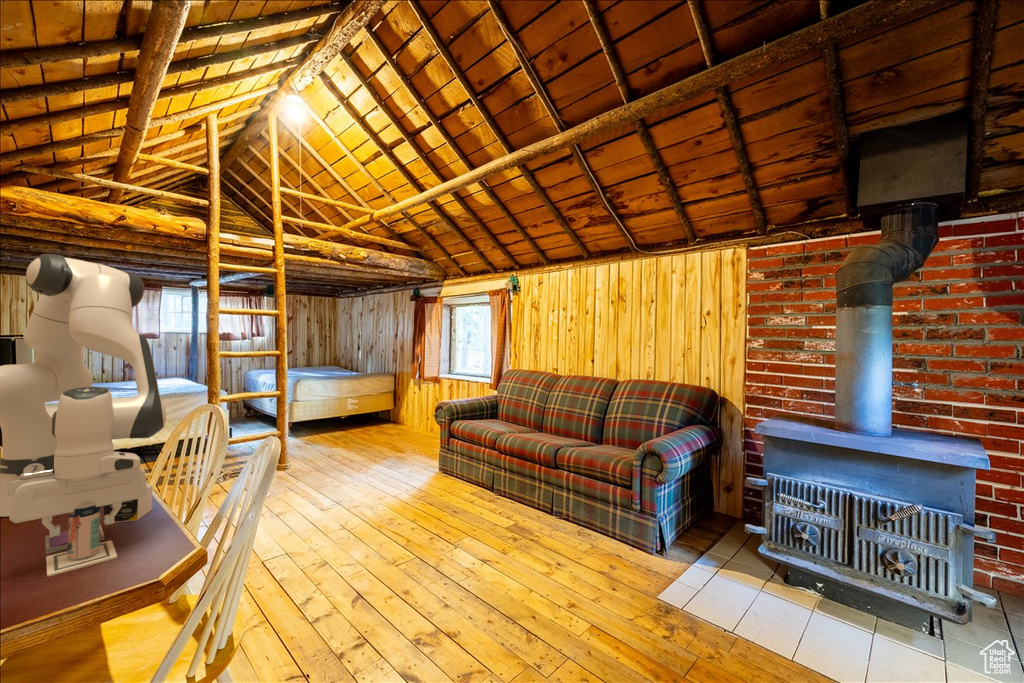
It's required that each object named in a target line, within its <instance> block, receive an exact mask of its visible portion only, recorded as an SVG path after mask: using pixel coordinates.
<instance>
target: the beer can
mask: <svg viewBox="0 0 1024 683" xmlns="http://www.w3.org/2000/svg"><path fill="white" fill-rule="evenodd" d="M100 524H101V506H100V507H96V504H94V503H93V502H92V501H88V502H82V503H81V504H80V505H79V506H77V507H76V508H75V509H74V512H70V513H68V523H67V526H68V527H67V528H68V529H67V530H68V549H67V551H68V557H67V558H68V559H71V560H82V559H86V558H89V557H91V556H93V555H94V554H96V553H97V552H98V551H99V543H100V541H99V533H100Z"/></svg>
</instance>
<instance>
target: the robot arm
mask: <svg viewBox="0 0 1024 683" xmlns="http://www.w3.org/2000/svg"><path fill="white" fill-rule="evenodd" d="M26 268H27V269H26V274H25V276H26V284H27V285H28V286H29V288H30V289H31V290H32V291H34V292H36V293H39V294H40V296H39V298H38V300H37V302H36V303H35V305H34V309H33V311H32V313H31V315H30V318H29V319H28V323H27V326H26V328H25V331H24V333H23V335H22V336H23V342H24V343H25V344H26V346H28V347H29V348H31V349H32V350H34V351H35V360H34V362H32V363H25V364H24V363H19V364H3V365H0V429H1V436H2V437H1V438H2V440H1V441H2V457H0V517H3V518H4V517H9V519H8V520H9V521H10V522H12V523H14V524H19V523H23V522H29V521H35V520H39V519H41V524H42V525H43V526H44V527H45V528H46V529H47V530H49V534H50V538H52V537H56V536H60V532H61V525H60V524H59V525H54V524H53V523H52V521H53V517H54V516H59V515H65V514H69V513H70V512H74V509H75V508H76V507H77V506H79V505H80V504H81V503H82V502H88V501H92V502H93V503H94V504H96V507H100V508H101V507H104V506H105V505H110V504H112V507H113V510H112V511H111V513H110V514H109V515H105V516H104V515H103V524H104V526H107V525H108V526H109V525H113V524H115V523H114V516H115V515H116V514H117V512H118V511H119V510H120V508H121V505H122V502H125V501H130V500H135V499H140V498H143V497H144V496H145V495H146V493H147V485H148V483H147V477H146V472H145V473H144V471H145V470H144V469H143V468H142V467H141V466H140V465H141V458H140V456H138V454H136V453H133V452H126V451H125V452H122V451H114V447H115V446H114V443H113V440H123V439H150V438H151V437H153V436H155V435H156V434H157V433H159V432H160V431H161V430H163V428H164V427H165V425H166V420H167V412H166V408H165V405H164V402H163V400H162V398H161V396H160V391H159V384H158V379H157V374H156V368H155V363H154V358H153V355H152V352H151V347H150V344H149V341H148V340H147V338H146V337H145V335H142V334H139V333H138V331H136V329H135V328H134V326H133V322H132V317H133V308H135V307H136V306H138V305H139V303H140V302H141V300H142V298H143V296H144V293H145V283H144V281H143V280H142V278H141V277H139V276H138V275H136V274H134V273H131V272H129V271H122V270H121V269H117V268H115V267H111V266H108V265H105V264H101V263H97V262H90V261H85V260H82V259H76V258H71V257H65V256H63V255H60V254H54V253H51V254H50V253H43V254H41V255H38V256H36V257H35V258H34V259H33V261H31V262H30V263H29V265H28V267H26ZM83 347H84V348H85V349H87V350H90V351H92V352H96V353H98V354H102V355H107V356H110V357H114V358H116V359H120V360H123V361H125V362H127V363H128V364H129V365H131V367H132V368H133V373H134V374H133V375H134V379H135V384H136V389H137V395H135V396H134V395H133V396H130V397H129V396H128V397H113V396H112V393H111V391H110V390H109V388H105V387H101V386H92V384H93V381H94V380H93V375H92V372H91V371H90V369H89V368H88V367H87V366H85V364H84V363H83V358H82V350H83V349H82V348H83ZM50 402H57V403H58V404H57V409H56V411H54V413H53V414H52V416H50V414H49V413H48V411H47V407H46V403H50ZM143 470H144V471H143ZM104 519H105V520H104Z"/></svg>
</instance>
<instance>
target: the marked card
mask: <svg viewBox="0 0 1024 683" xmlns="http://www.w3.org/2000/svg"><path fill="white" fill-rule="evenodd" d="M67 557H68V550H67V551H63V552H59V553H54V554H51V555H47V556H45V560H46V577H49V578H50V577H51V576H55V575H60V574H62V573H67V572H70V571H74V570H77V569H81V568H85V567H88V566H92V565H95V564H99V563H100V564H101V563H103V562H107V561H111V560H115V559H117V558H118V554H117V551H116V548H115V545H114V543H113V540H107V541H104V542H99V551H98V552H97V553H96V554H94V555H93V556H91V557H89V558H86V559H82V560H71V559H68V558H67Z"/></svg>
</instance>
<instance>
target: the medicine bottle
mask: <svg viewBox="0 0 1024 683" xmlns="http://www.w3.org/2000/svg"><path fill="white" fill-rule="evenodd" d="M142 470H143V471H144V473H145V474H146V471H145V470H144V469H142ZM153 487H154V486H153V484H147V493H146V495H145V496H144V497H143V498H140V499H135V500H130V501H125V502H122V505H121V508H120V510H119V511H118V512H117V514H116V515H115V516H114V524H115V523H126V522H127V523H128V522H137V521H139V520H140V519H141V518H143V517H144V516H146V515H147V514H148V513H150V512H151V511H152V510H153ZM112 510H113V507H112V504H110V505H105V506H103V517H104V516H105V515H109V514H110V513H111V511H112ZM104 520H105V519H104V518H103V521H104Z"/></svg>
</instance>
